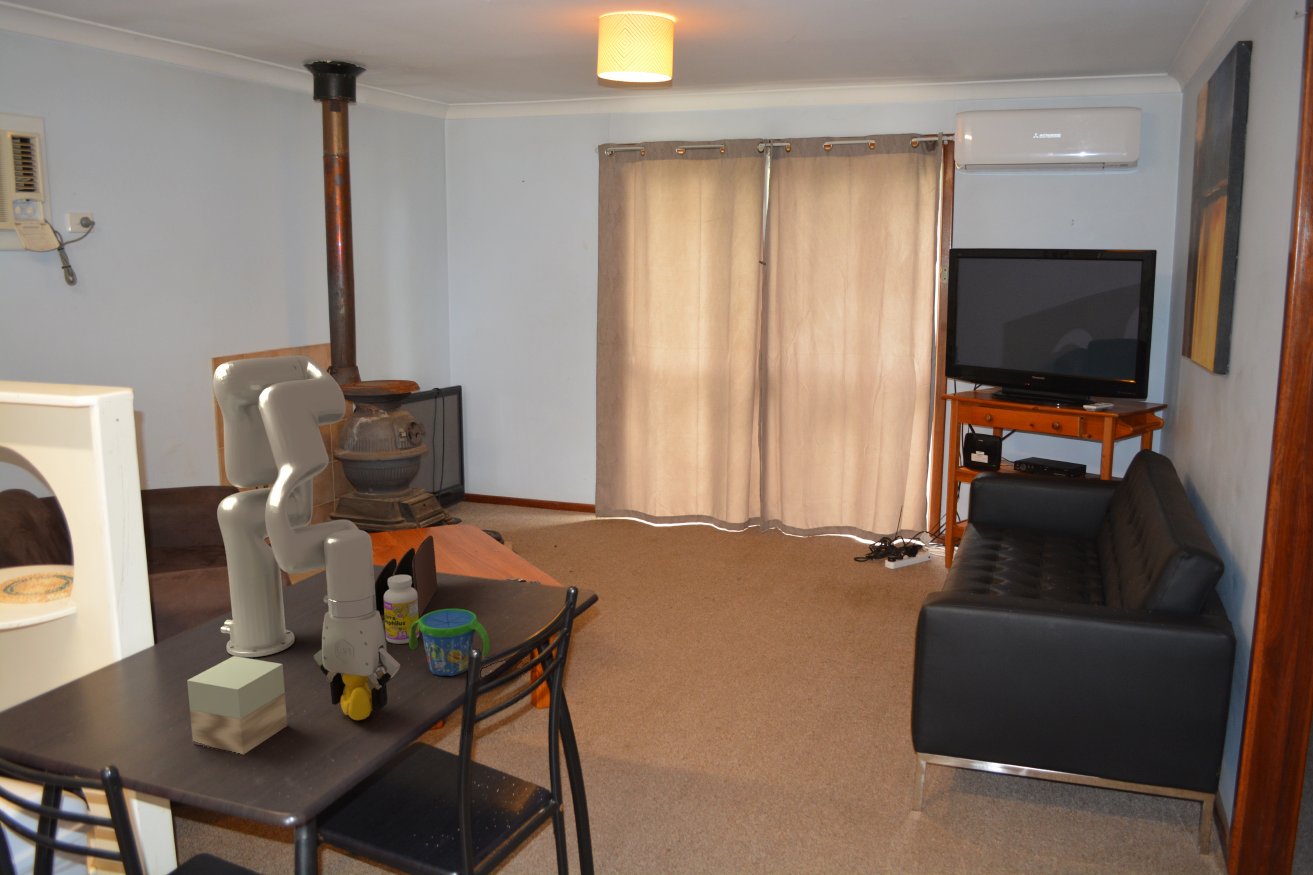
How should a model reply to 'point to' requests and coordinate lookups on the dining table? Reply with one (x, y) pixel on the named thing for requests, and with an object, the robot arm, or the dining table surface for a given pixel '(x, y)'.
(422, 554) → the letter holder
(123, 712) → the dining table surface
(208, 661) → the dining table surface
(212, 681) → the tower top
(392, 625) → the supplement bottle
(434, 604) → the dining table surface
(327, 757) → the dining table surface
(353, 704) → the duckling
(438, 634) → the snack cup
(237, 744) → the tower base
